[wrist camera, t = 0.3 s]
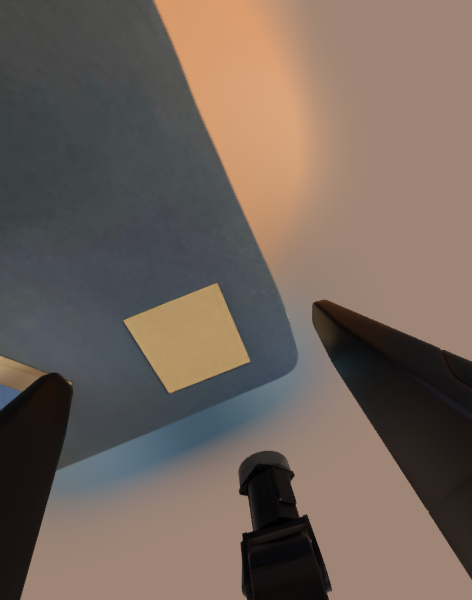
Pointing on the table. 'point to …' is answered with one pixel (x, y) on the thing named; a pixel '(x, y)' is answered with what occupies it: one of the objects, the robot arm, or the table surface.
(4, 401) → the sleeve
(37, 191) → the table surface
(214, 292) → the mat
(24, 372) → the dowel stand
